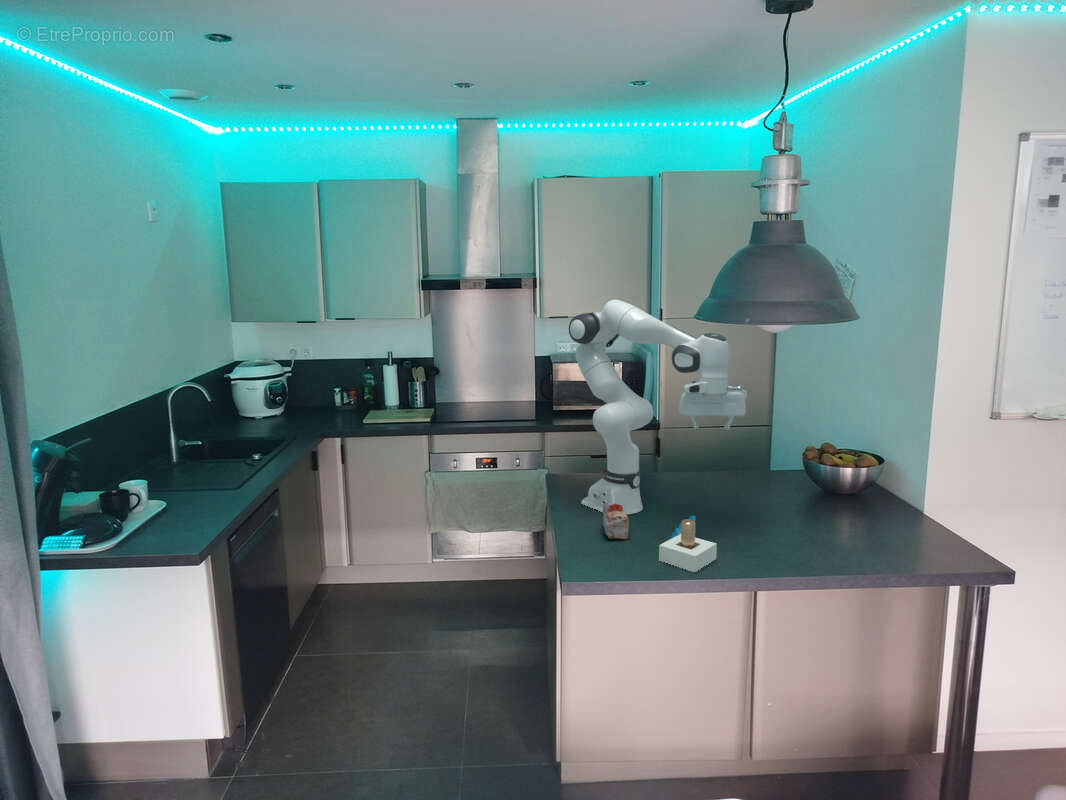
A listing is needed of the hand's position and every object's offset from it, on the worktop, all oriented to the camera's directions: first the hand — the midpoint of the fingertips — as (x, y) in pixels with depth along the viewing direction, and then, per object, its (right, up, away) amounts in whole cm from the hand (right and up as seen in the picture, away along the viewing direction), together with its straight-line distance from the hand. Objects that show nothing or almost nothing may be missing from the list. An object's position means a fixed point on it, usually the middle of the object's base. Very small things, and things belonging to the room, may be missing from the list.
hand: (711, 429), depth 225 cm
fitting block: (-11, -38, -15) cm, 42 cm away
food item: (-30, -34, +6) cm, 46 cm away
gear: (-9, -35, +1) cm, 36 cm away
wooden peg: (-11, -38, -15) cm, 42 cm away
